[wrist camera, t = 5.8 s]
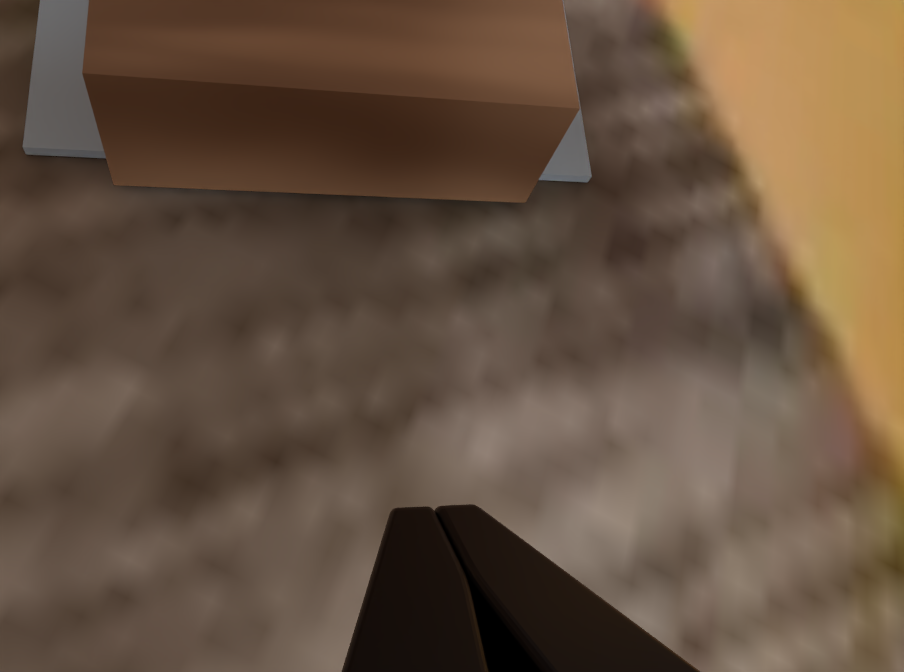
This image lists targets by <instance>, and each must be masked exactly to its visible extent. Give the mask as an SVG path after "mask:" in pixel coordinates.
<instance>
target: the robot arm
mask: <svg viewBox="0 0 904 672" xmlns="http://www.w3.org/2000/svg"><path fill="white" fill-rule="evenodd" d="M342 672H700V671H699V670H697V669H696V668H695V667H693V666H692V665H691V664H689V663H688V662H687V661H685V660H684V659H682V658H681V657H680V656H678V655H677V654H676V653H674V652H673V651H672V650H670V649H669V648H668V647H666V646H665V645H664V644H662V643H661V642H660V641H658V640H657V639H656V638H654V637H653V636H652V635H650V634H649V633H648V632H646V631H645V630H643V629H642V628H641V627H639V626H638V625H637V624H635V623H634V622H633V621H631V620H630V619H629V618H627V617H626V616H625V615H623V614H622V613H621V612H619V611H618V610H617V609H615V608H614V607H613V606H611V605H610V604H609V603H607V602H606V601H605V600H603V599H602V598H600V597H599V596H598V595H596V594H595V593H594V592H592V591H591V590H590V589H588V588H587V587H586V586H584V585H583V584H582V583H580V582H579V581H578V580H576V579H575V578H574V577H572V576H571V575H570V574H568V573H567V572H566V571H564V570H563V569H562V568H560V567H559V566H557V565H556V564H555V563H553V562H552V561H551V560H549V559H548V558H547V557H545V556H544V555H543V554H541V553H540V552H539V551H537V550H536V549H535V548H533V547H532V546H531V545H529V544H528V543H527V542H525V541H524V540H523V539H521V538H520V537H519V536H517V535H516V534H514V533H513V532H512V531H510V530H509V529H508V528H506V527H505V526H504V525H502V524H501V523H500V522H498V521H497V520H496V519H494V518H493V517H492V516H490V515H489V514H488V513H486V512H485V511H484V510H482V509H481V508H479V507H478V506H476V505H471V504H469V505H449V506H439V507H437V508H436V509H435V511H434V510H433V509H432V508H430V507H405V508H395V509H393V510H392V511H391V512H390V515H389V518H388V521H387V524H386V528H385V531H384V534H383V538H382V541H381V544H380V548H379V551H378V554H377V557H376V561H375V564H374V567H373V571H372V574H371V577H370V580H369V584H368V587H367V590H366V594H365V597H364V600H363V603H362V607H361V610H360V613H359V617H358V620H357V623H356V626H355V630H354V633H353V636H352V640H351V643H350V646H349V649H348V653H347V656H346V659H345V663H344V666H343V669H342Z"/></svg>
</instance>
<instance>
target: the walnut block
mask: <svg viewBox="0 0 904 672" xmlns="http://www.w3.org/2000/svg"><path fill="white" fill-rule="evenodd" d="M82 74H83V78H84V81H85V85H86V89H87V92H88V96H89V99H90V103H91V106H92V110H93V113H94V117H95V121H96V124H97V128H98V131H99V135H100V138H101V142H102V145H103V149H104V152H105V156H106V160H107V163H108V167H109V170H110V174H111V177H112V181H113V184H114V185H121V186H145V187H168V188H191V189H214V190H238V191H261V192H284V193H307V194H331V195H354V196H377V197H401V198H424V199H447V200H470V201H494V202H517V203H525V202H526V201H527V199H528V197H529V195H530V194H531V192H532V190H533V189H534V187H535V185H536V183H537V182H538V180H539V178H540V177H541V175H542V173H543V171H544V170H545V168H546V166H547V164H548V163H549V161H550V159H551V158H552V156H553V154H554V152H555V151H556V149H557V147H558V146H559V144H560V142H561V140H562V139H563V137H564V135H565V133H566V132H567V130H568V128H569V127H570V125H571V123H572V121H573V120H574V118H575V116H576V115H577V113H578V111H579V109H580V106H579V100H578V94H577V87H576V81H575V75H574V69H573V63H572V56H571V50H570V44H569V38H568V32H567V25H566V19H565V13H564V7H563V1H562V0H89V5H88V16H87V27H86V37H85V48H84V59H83V69H82Z"/></svg>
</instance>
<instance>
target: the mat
mask: <svg viewBox="0 0 904 672" xmlns="http://www.w3.org/2000/svg"><path fill="white" fill-rule="evenodd" d="M562 1H563V0H562ZM88 5H89V0H40V5H39V13H38V22H37V30H36V39H35V47H34V55H33V64H32V72H31V80H30V89H29V97H28V105H27V114H26V122H25V130H24V139H23V149H24V152H25V154H27V155H48V156H68V157H88V158H106V156H105V152H104V149H103V145H102V142H101V138H100V135H99V131H98V128H97V124H96V121H95V117H94V113H93V110H92V106H91V103H90V99H89V96H88V92H87V89H86V85H85V81H84V78H83V74H82V69H83V59H84V48H85V37H86V27H87V16H88ZM563 7H564V2H563ZM564 13H565V8H564ZM565 19H566V14H565ZM566 25H567V20H566ZM567 32H568V26H567ZM568 38H569V33H568ZM569 44H570V39H569ZM570 50H571V45H570ZM571 56H572V51H571ZM572 63H573V57H572ZM573 69H574V63H573ZM574 75H575V70H574ZM575 81H576V76H575ZM576 87H577V82H576ZM577 94H578V88H577ZM578 100H579V94H578ZM579 106H580V101H579ZM591 177H592V175H591V169H590V162H589V156H588V150H587V144H586V138H585V131H584V125H583V119H582V113H581V107H580V109H579V111H578V113H577V115H576V116H575V118H574V120H573V121H572V123H571V125H570V127H569V128H568V130H567V132H566V133H565V135H564V137H563V139H562V140H561V142H560V144H559V146H558V147H557V149H556V151H555V152H554V154H553V156H552V158H551V159H550V161H549V163H548V164H547V166H546V168H545V170H544V171H543V173H542V175H541V177H540V178H539V180H550V181H571V182H588V181H589V180H590V178H591Z"/></svg>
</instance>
